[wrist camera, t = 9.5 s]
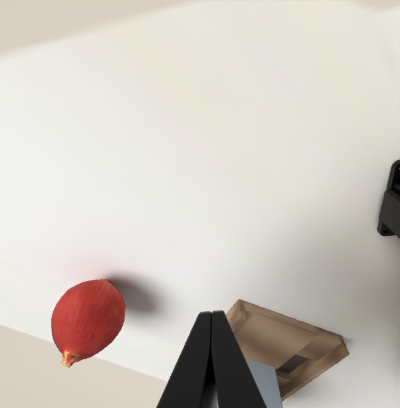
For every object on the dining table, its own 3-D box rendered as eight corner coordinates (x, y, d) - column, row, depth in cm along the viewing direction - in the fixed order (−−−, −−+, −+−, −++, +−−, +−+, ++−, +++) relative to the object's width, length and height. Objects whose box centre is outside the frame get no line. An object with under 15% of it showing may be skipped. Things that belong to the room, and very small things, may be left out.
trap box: (238, 299, 26) (243, 337, 23) (341, 336, 29) (359, 374, 25) (181, 366, 33) (178, 402, 29) (268, 390, 36) (275, 427, 32)
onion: (141, 299, 27) (118, 385, 20) (89, 304, 27) (49, 389, 20) (123, 257, 24) (88, 341, 17) (65, 264, 24) (9, 348, 17)
